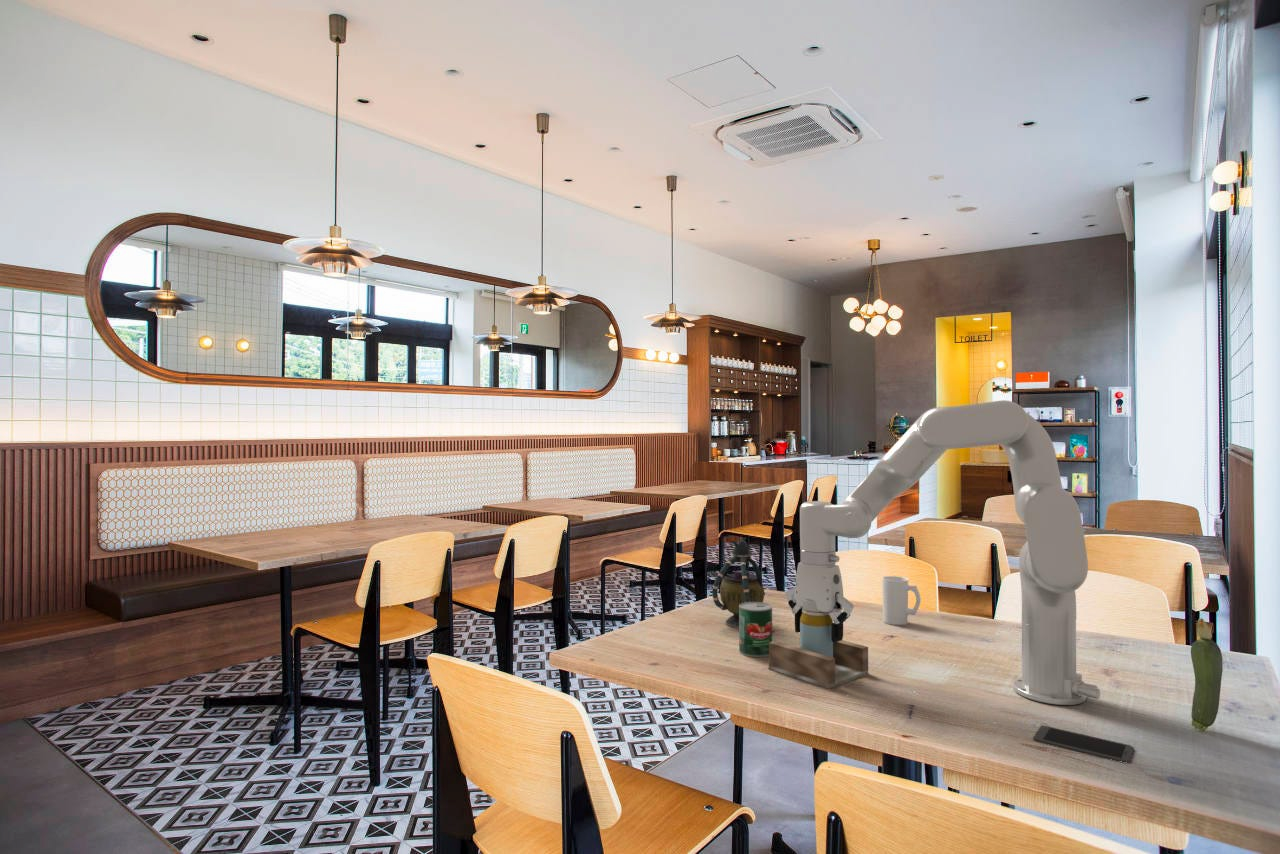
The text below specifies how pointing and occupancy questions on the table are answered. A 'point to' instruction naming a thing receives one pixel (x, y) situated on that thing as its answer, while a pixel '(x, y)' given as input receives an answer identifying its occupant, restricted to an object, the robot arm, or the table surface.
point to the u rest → (820, 663)
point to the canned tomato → (755, 628)
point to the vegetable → (1206, 678)
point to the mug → (897, 600)
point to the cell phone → (1084, 744)
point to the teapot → (738, 584)
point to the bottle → (815, 629)
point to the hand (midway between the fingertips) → (818, 636)
